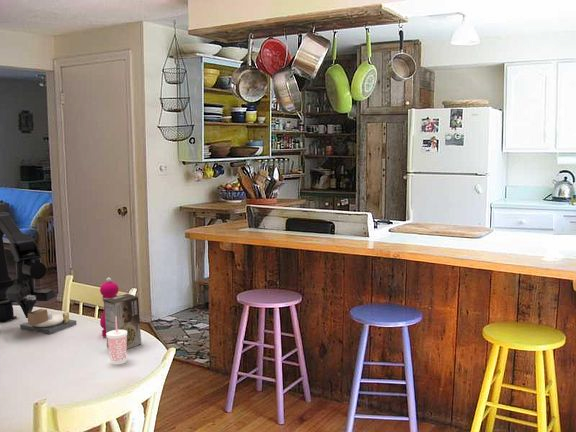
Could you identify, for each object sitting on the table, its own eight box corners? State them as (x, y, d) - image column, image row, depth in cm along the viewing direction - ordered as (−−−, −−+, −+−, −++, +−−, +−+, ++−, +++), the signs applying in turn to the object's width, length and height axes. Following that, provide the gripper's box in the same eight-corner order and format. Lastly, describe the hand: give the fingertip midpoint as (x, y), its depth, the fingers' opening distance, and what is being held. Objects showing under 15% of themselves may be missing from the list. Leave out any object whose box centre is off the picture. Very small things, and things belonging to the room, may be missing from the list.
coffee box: (129, 340, 201) (127, 293, 199) (141, 344, 197) (139, 296, 195) (106, 348, 194) (103, 299, 192) (118, 352, 190) (115, 302, 188)
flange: (20, 326, 212) (19, 312, 212) (48, 316, 224) (47, 302, 223) (43, 330, 208) (42, 315, 207) (71, 319, 220) (70, 305, 219)
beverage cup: (107, 366, 178) (104, 320, 176) (108, 359, 184) (105, 314, 182) (129, 364, 180) (126, 318, 178) (128, 356, 186) (126, 312, 184)
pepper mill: (99, 333, 209) (96, 276, 206) (120, 330, 212) (117, 274, 209) (102, 339, 202) (99, 281, 200) (124, 336, 205) (121, 278, 203)
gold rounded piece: (62, 323, 216) (61, 313, 215) (66, 321, 218) (65, 312, 217) (66, 324, 215) (65, 314, 214) (70, 322, 217) (69, 313, 216)
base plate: (20, 328, 215) (19, 324, 215) (47, 319, 226) (47, 315, 226) (49, 334, 208) (49, 330, 208) (76, 324, 219) (76, 320, 219)
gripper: (-15, 278, 204) (-12, 323, 206) (36, 281, 200) (39, 326, 203) (6, 271, 214) (9, 314, 217) (54, 273, 211) (57, 316, 213)
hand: (27, 318), depth 212 cm, fingers closed
